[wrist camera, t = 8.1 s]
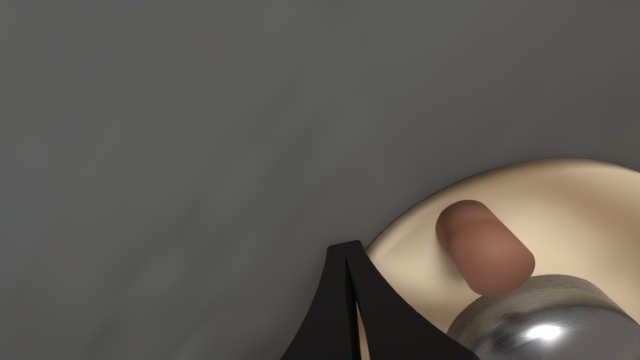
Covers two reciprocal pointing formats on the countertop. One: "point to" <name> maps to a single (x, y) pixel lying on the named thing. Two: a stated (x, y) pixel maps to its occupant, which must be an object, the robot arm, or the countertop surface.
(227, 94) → the countertop surface
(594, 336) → the cover
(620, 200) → the beige round shallow disc
